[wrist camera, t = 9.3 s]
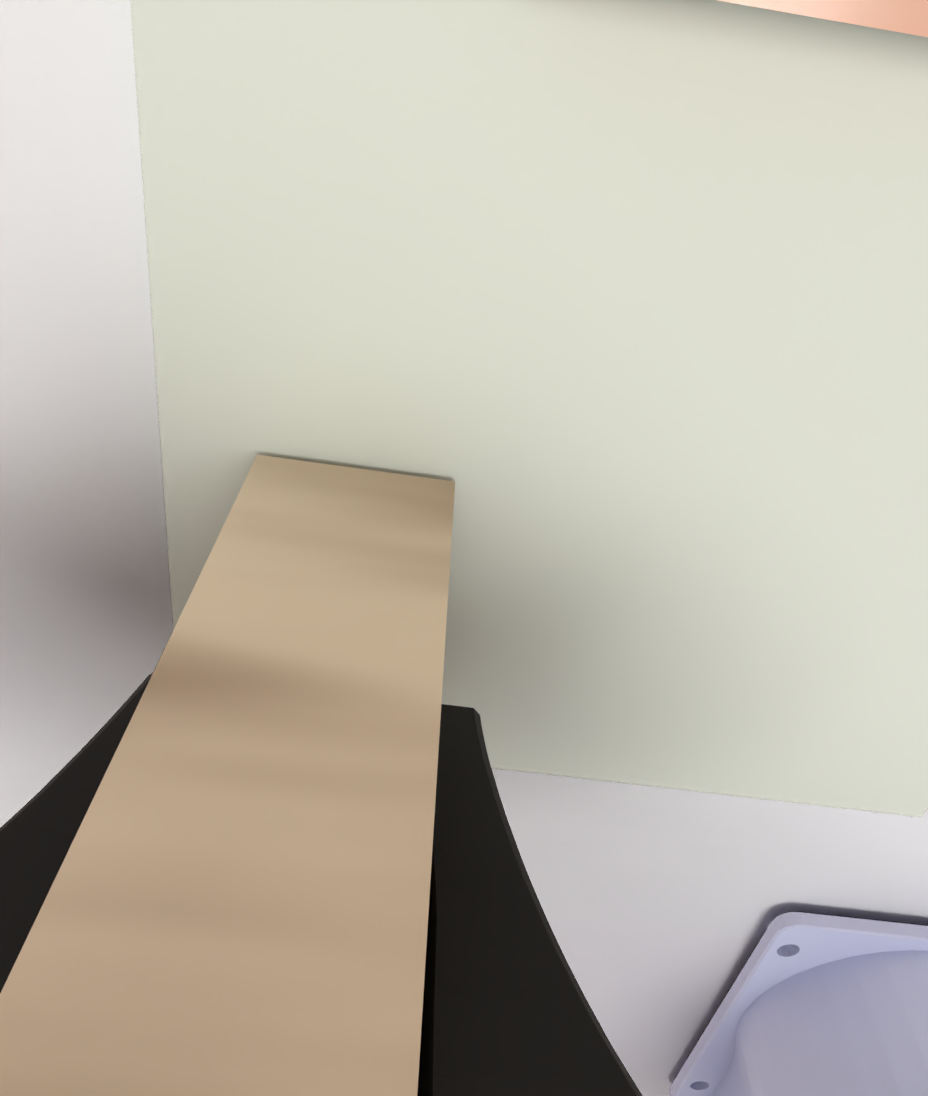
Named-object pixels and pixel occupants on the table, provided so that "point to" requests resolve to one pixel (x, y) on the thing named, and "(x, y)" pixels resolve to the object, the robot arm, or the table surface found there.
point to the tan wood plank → (260, 819)
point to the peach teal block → (855, 12)
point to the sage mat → (577, 354)
